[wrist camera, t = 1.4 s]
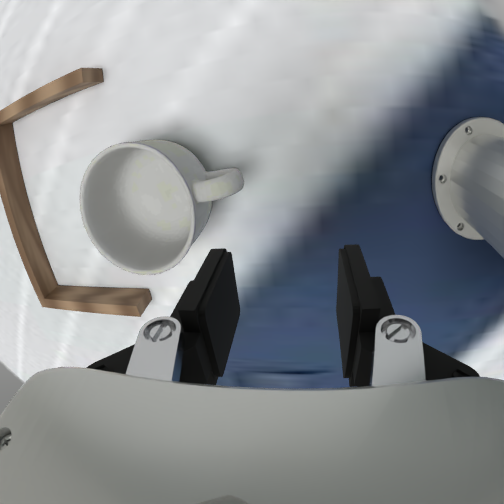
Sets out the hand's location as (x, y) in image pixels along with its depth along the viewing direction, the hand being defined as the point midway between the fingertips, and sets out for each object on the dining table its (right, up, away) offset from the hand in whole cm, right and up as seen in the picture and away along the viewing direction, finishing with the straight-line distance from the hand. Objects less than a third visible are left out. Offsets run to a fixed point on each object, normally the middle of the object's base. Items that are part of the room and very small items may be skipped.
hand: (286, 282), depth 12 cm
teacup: (-8, +8, +17) cm, 20 cm away
